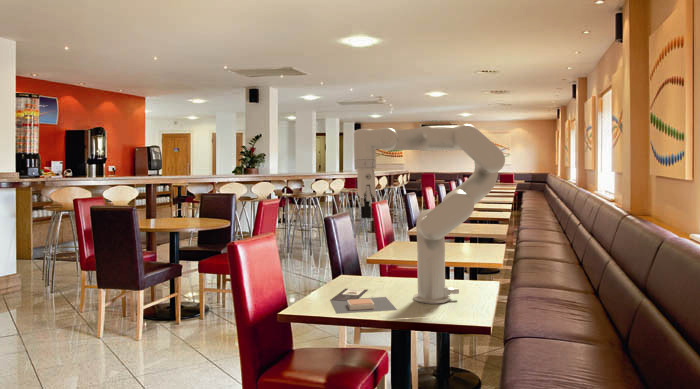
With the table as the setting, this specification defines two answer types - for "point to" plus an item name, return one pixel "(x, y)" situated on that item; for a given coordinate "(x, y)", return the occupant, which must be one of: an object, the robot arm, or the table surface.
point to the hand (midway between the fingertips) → (366, 217)
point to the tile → (360, 304)
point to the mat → (379, 305)
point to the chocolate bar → (349, 294)
